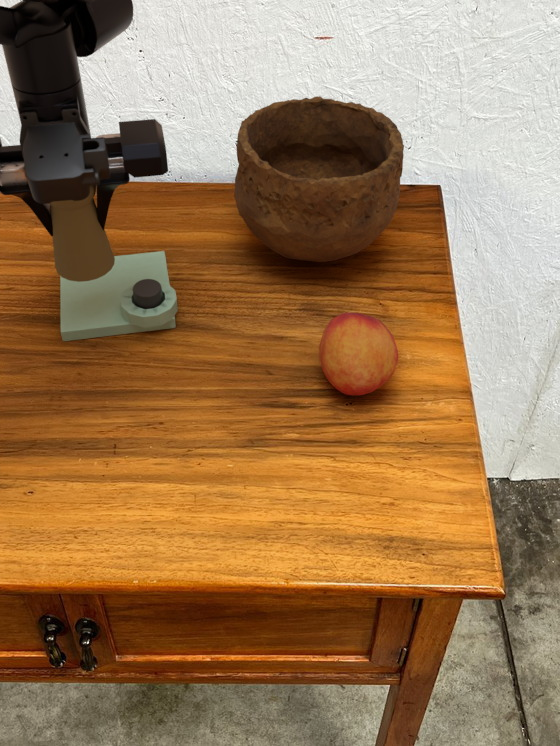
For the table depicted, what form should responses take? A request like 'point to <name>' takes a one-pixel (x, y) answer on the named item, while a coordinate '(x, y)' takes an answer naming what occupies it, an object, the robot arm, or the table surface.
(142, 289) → the dark brown cylinder
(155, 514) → the table surface
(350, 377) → the fruit
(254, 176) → the bowl
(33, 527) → the table surface
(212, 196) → the table surface
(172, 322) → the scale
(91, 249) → the brown game pawn
